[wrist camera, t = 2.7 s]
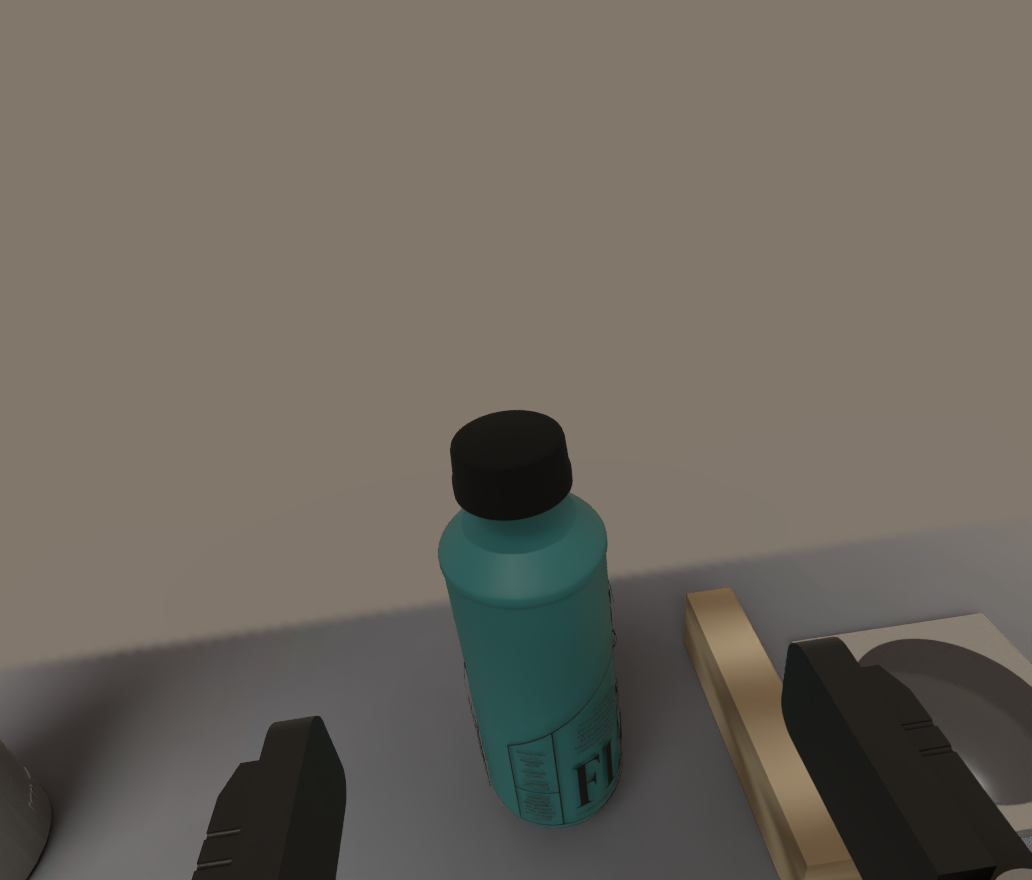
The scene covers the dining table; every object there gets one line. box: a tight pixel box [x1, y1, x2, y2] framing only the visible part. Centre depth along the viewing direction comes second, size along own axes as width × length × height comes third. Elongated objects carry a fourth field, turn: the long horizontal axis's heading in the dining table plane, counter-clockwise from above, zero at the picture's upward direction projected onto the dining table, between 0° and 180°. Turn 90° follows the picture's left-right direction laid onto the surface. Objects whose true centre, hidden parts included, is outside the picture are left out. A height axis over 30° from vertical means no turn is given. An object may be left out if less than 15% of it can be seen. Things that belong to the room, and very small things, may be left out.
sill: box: [684, 587, 862, 880], centre depth 31 cm, size 14×2×4 cm, turn 5°
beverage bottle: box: [438, 410, 623, 828], centre depth 26 cm, size 6×7×20 cm
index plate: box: [792, 613, 1032, 837], centre depth 32 cm, size 11×11×1 cm
